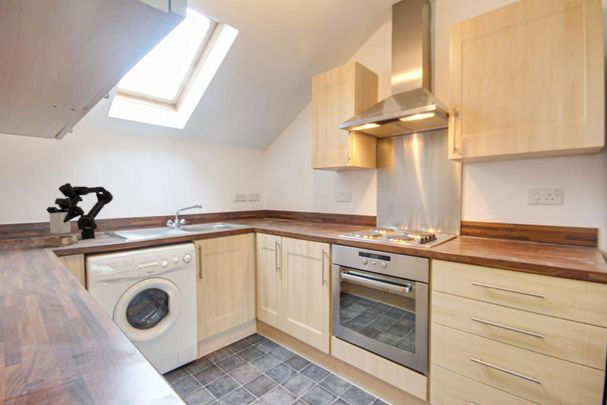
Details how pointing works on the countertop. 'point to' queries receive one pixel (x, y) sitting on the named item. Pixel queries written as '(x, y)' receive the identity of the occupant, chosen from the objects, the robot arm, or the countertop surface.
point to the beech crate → (59, 241)
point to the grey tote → (59, 223)
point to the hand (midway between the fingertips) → (58, 222)
